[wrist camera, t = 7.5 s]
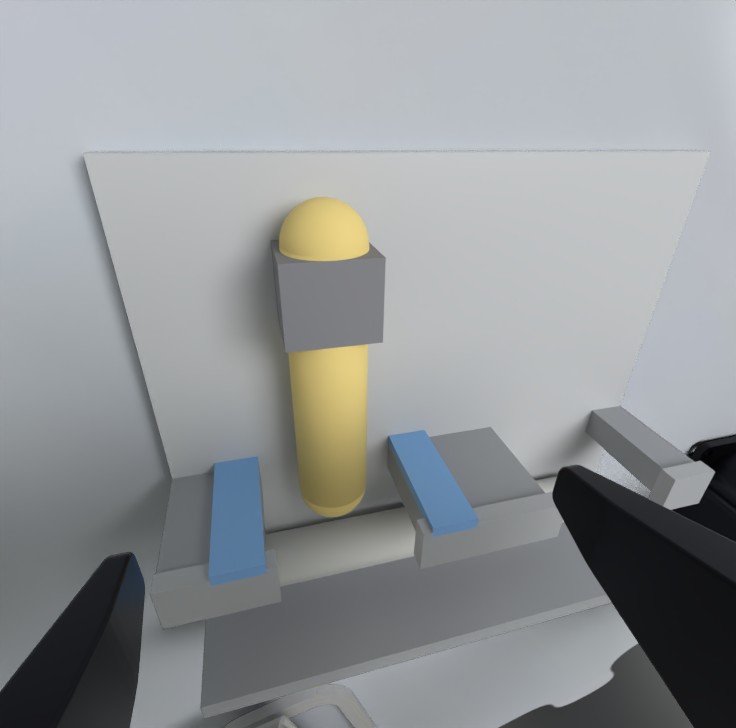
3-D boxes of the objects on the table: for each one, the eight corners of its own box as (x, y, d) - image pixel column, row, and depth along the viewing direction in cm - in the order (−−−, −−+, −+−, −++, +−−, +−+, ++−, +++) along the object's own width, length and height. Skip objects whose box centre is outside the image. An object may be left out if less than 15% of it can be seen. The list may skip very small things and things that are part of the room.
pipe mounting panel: (694, 150, 15) (878, 164, 11) (569, 520, 24) (642, 608, 20) (89, 151, 11) (-7, 175, 7) (210, 602, 20) (203, 738, 16)
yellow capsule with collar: (265, 191, 12) (272, 206, 10) (362, 189, 12) (387, 203, 10) (294, 489, 17) (302, 538, 15) (360, 477, 18) (376, 523, 16)
